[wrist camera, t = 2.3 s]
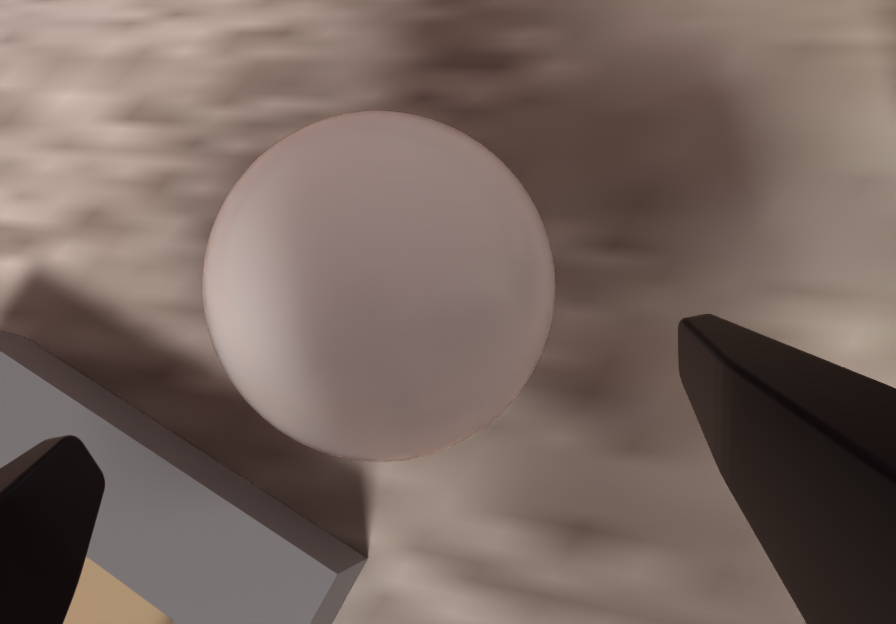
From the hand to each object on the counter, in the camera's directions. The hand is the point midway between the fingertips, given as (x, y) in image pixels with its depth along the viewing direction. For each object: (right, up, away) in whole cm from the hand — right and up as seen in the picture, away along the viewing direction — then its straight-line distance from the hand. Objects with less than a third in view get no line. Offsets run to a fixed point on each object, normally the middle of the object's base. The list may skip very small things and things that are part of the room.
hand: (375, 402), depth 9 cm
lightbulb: (+1, 0, +10) cm, 10 cm away
